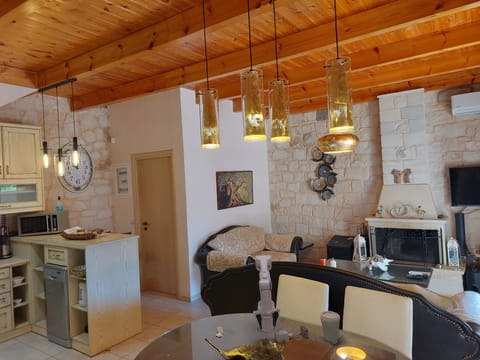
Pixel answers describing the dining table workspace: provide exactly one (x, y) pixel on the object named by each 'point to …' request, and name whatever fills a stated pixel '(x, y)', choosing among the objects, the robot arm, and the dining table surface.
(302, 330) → the scale board
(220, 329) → the teacup and saucer
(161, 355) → the dining table surface
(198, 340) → the dining table surface
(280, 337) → the gauge carriage
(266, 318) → the robot arm
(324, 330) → the disposable coffee cup
